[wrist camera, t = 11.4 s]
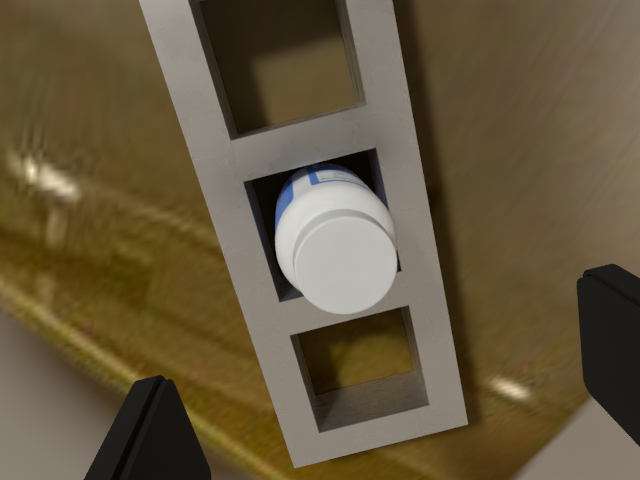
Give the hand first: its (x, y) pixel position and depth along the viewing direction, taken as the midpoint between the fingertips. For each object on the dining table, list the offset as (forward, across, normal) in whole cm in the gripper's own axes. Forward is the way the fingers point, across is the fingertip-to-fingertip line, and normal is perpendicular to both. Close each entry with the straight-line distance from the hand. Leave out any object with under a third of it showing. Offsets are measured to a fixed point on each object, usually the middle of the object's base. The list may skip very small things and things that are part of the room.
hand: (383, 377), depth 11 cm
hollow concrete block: (+17, +1, +1) cm, 17 cm away
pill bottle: (+18, 0, +1) cm, 18 cm away
